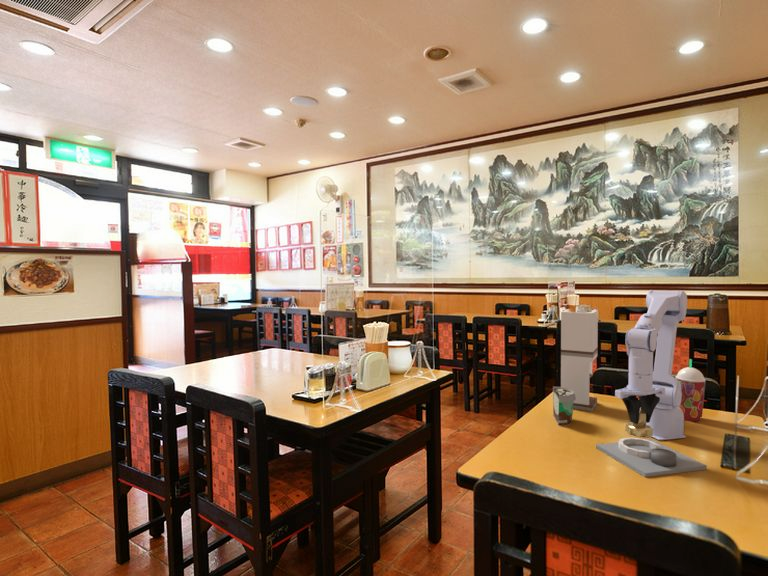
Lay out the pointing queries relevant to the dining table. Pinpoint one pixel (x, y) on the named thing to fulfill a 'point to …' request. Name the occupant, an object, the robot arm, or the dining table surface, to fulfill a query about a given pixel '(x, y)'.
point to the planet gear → (640, 427)
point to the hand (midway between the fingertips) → (639, 422)
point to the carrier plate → (649, 457)
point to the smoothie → (691, 392)
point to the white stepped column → (579, 355)
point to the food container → (563, 405)
